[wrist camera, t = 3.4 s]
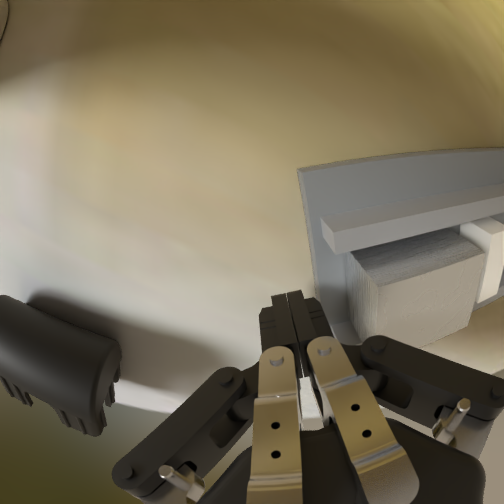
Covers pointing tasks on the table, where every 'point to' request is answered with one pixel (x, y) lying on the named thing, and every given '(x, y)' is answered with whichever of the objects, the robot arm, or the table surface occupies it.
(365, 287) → the grey textured block
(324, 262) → the gauge board
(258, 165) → the table surface
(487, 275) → the white upright block
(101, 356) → the end cap
